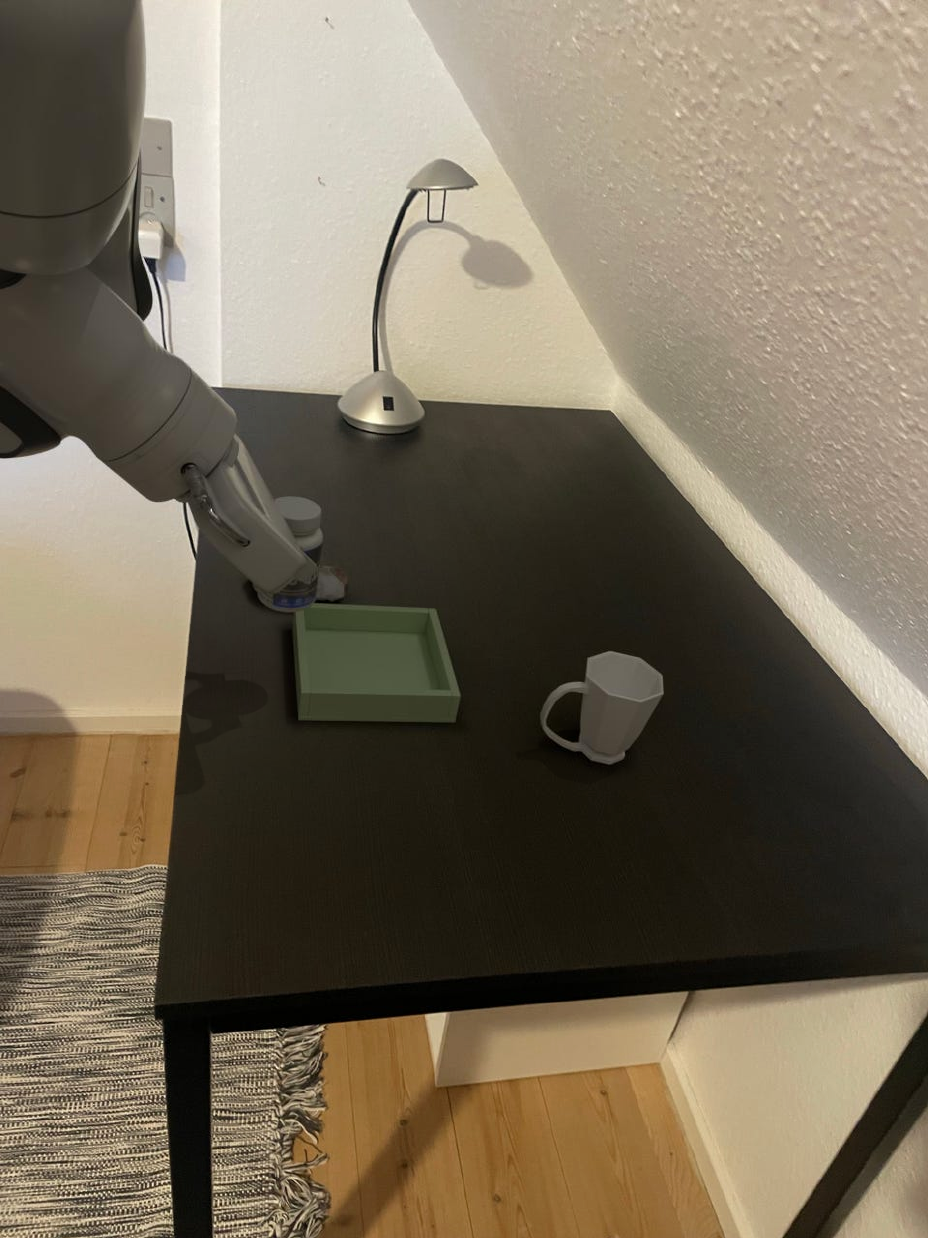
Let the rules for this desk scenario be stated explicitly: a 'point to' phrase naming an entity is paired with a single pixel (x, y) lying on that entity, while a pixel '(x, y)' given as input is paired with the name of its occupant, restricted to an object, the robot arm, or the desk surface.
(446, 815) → the desk surface
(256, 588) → the stone
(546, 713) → the cup
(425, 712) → the sage tray
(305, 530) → the pill bottle
